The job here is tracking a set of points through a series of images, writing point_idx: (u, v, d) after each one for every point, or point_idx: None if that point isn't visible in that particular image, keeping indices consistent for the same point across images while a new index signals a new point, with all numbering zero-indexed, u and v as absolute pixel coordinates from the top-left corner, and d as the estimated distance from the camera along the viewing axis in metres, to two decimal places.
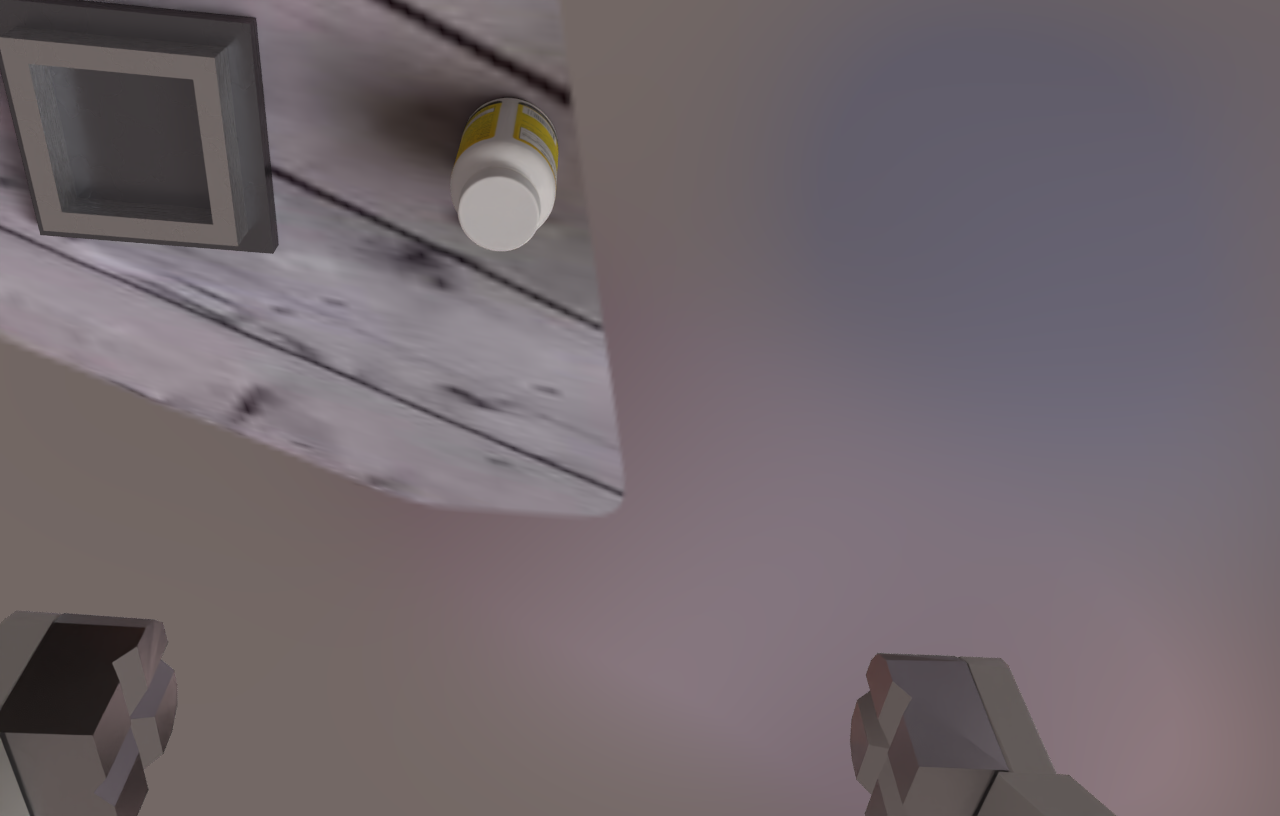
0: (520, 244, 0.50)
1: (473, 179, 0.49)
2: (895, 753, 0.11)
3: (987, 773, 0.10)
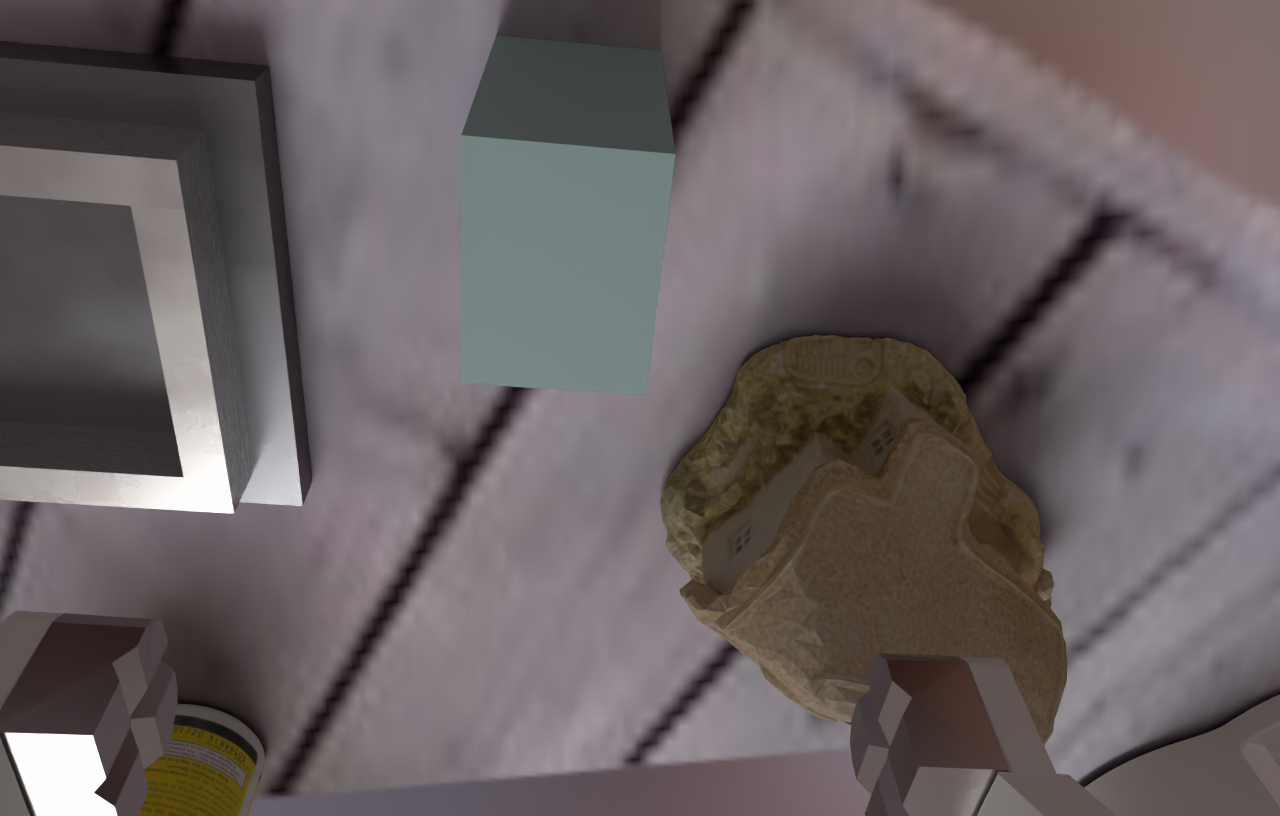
0: None
1: None
2: (896, 754, 0.11)
3: (987, 773, 0.10)
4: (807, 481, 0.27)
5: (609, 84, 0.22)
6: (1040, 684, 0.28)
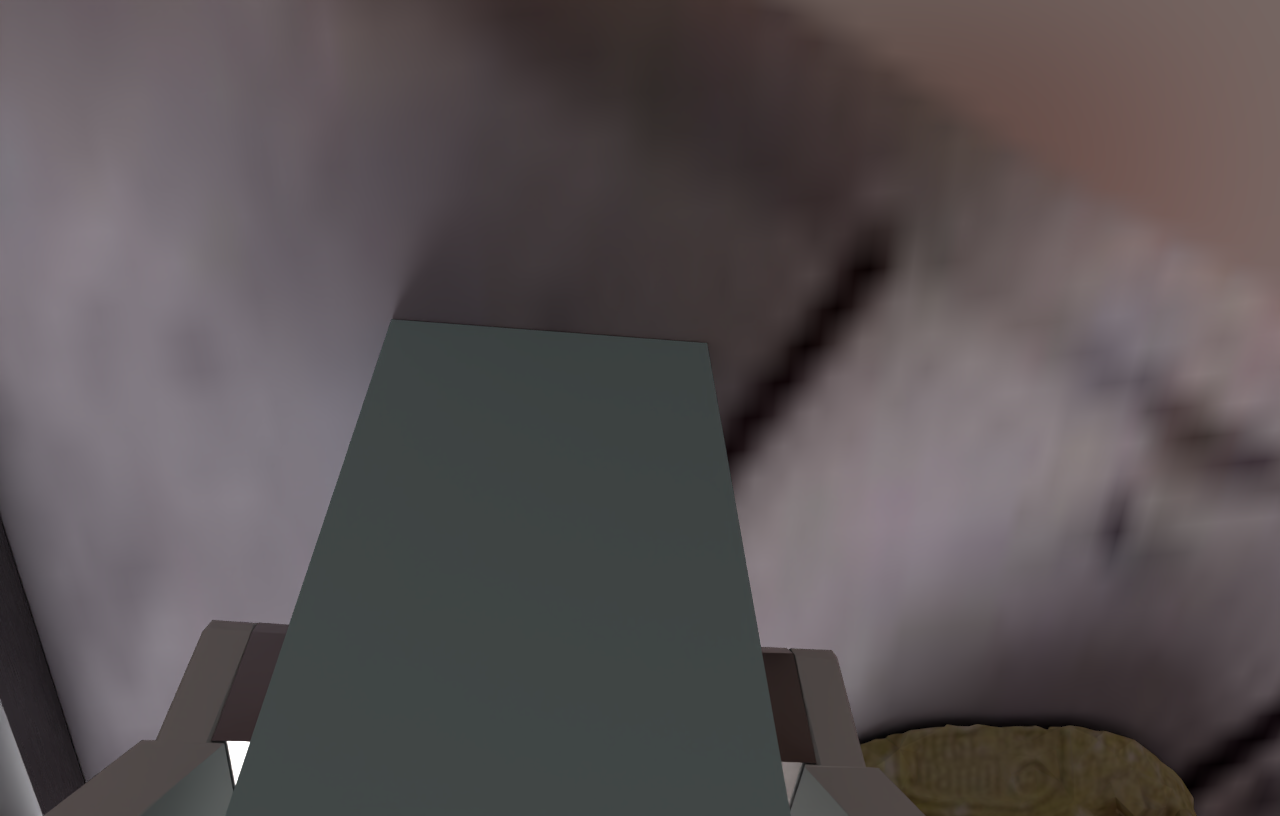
0: None
1: None
2: None
3: (795, 766, 0.10)
4: None
5: (612, 489, 0.10)
6: None
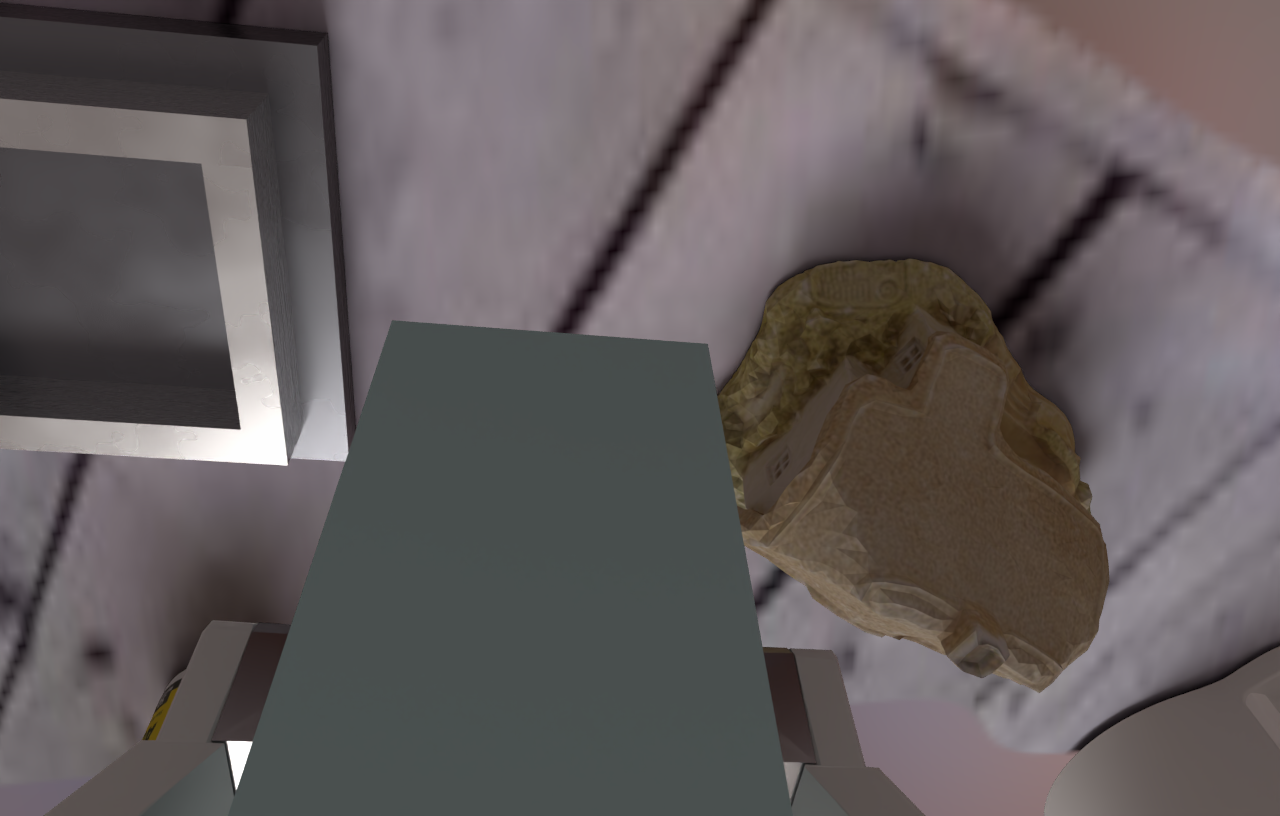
0: None
1: None
2: None
3: (795, 766, 0.10)
4: (840, 397, 0.28)
5: (614, 490, 0.10)
6: (1083, 583, 0.29)
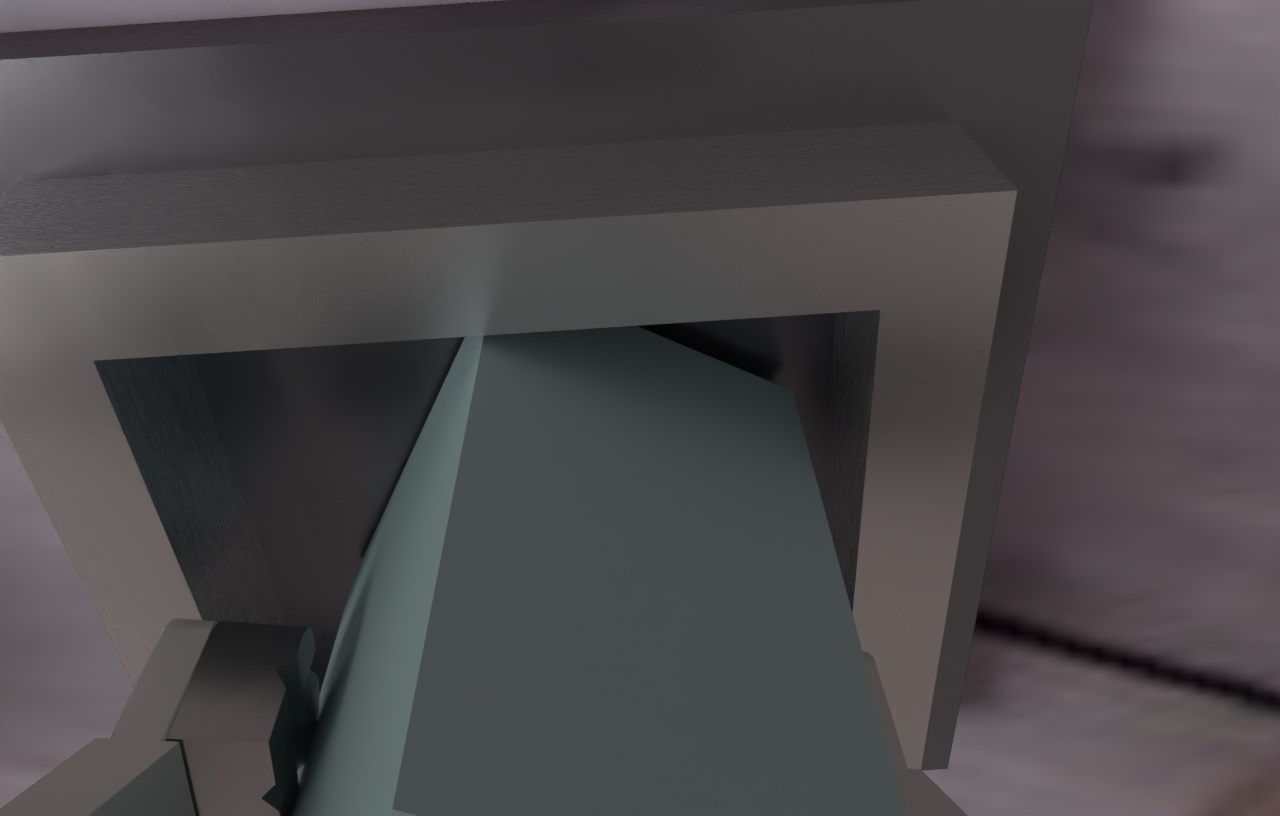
0: None
1: None
2: None
3: None
4: None
5: (730, 521, 0.10)
6: None
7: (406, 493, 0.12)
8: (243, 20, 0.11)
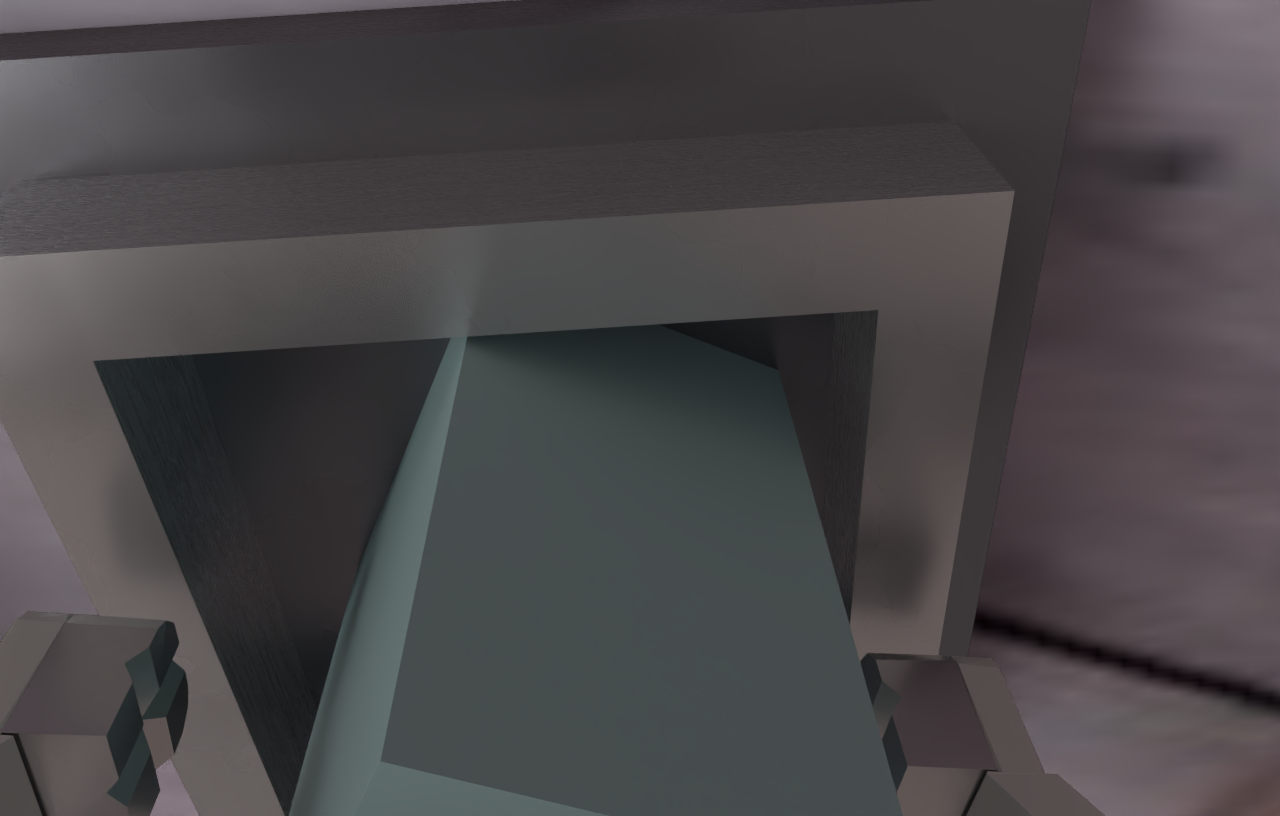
0: None
1: None
2: None
3: (976, 772, 0.10)
4: None
5: (714, 493, 0.10)
6: None
7: (402, 481, 0.12)
8: (242, 21, 0.11)
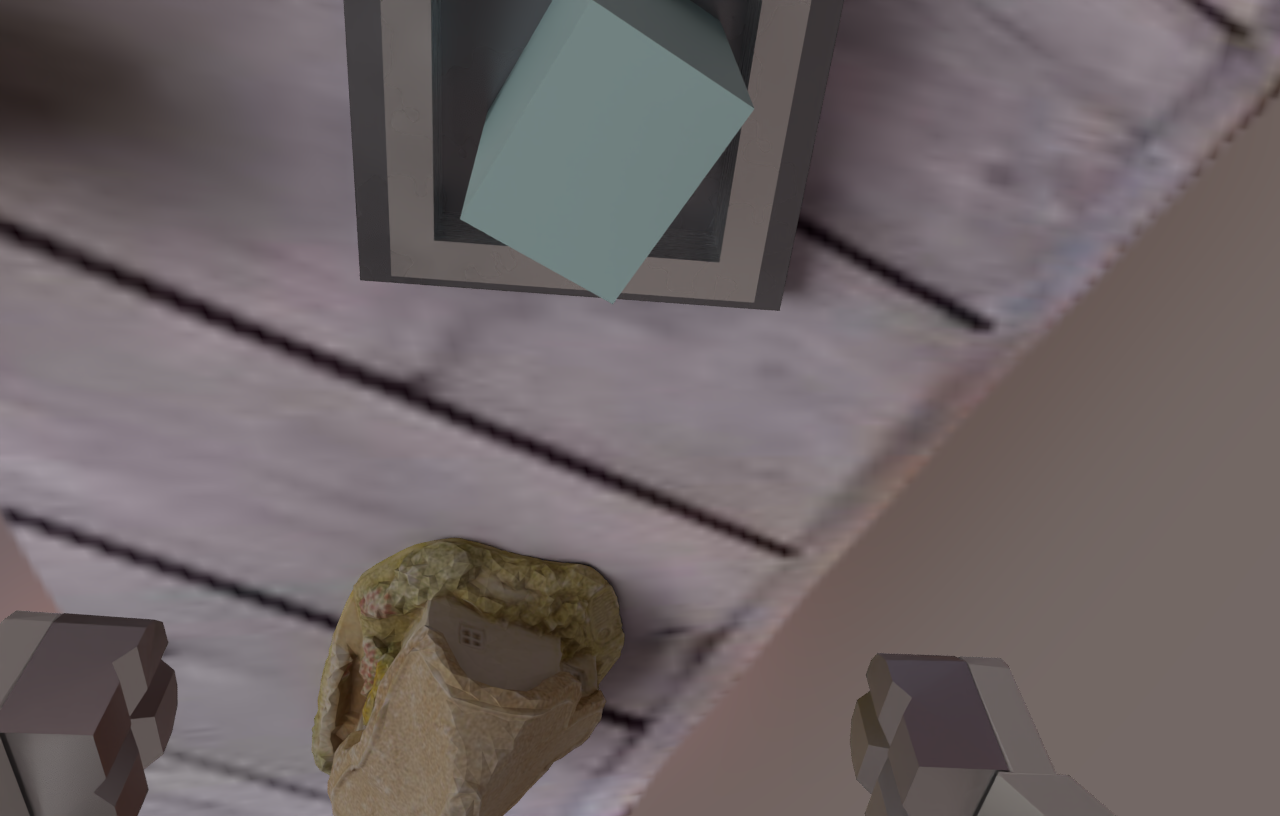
0: None
1: None
2: (896, 754, 0.11)
3: (987, 773, 0.10)
4: (564, 678, 0.37)
5: (690, 25, 0.24)
6: None
7: (539, 32, 0.26)
8: None
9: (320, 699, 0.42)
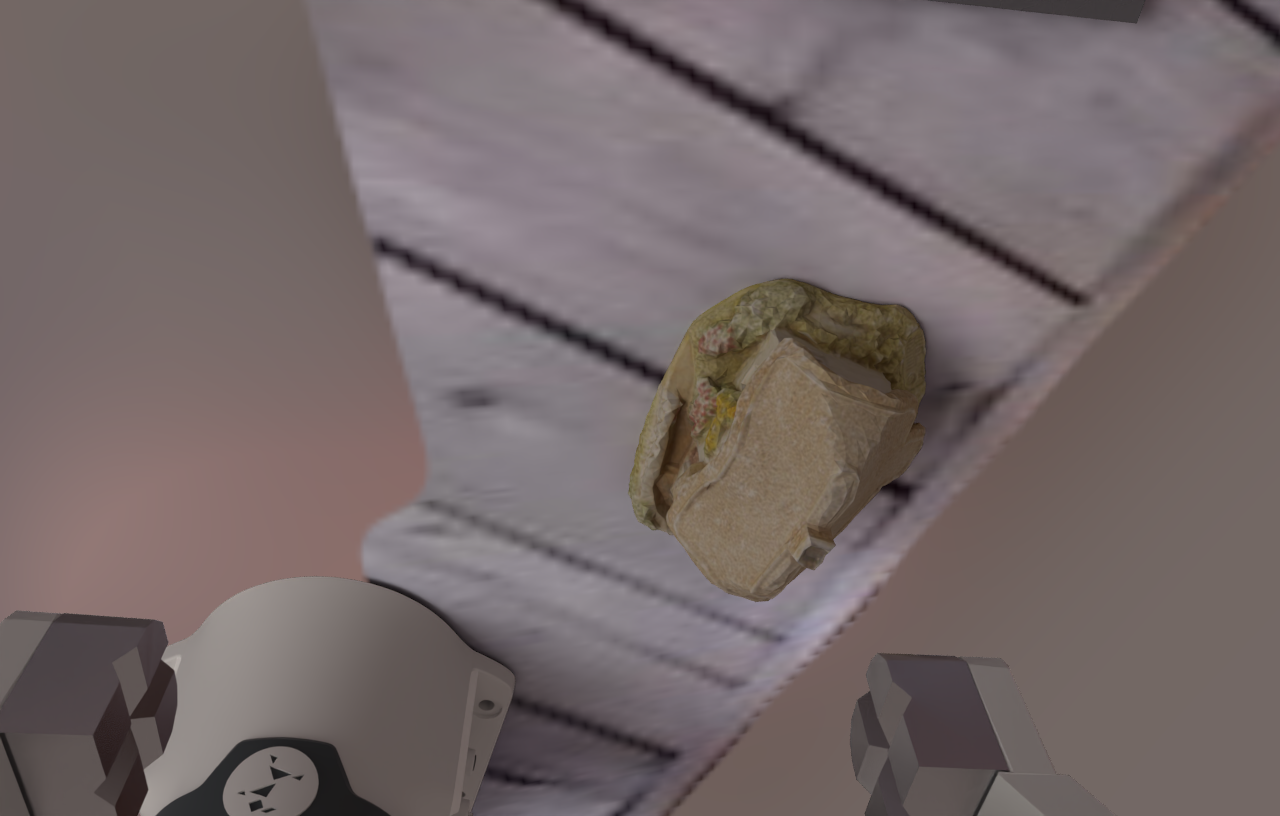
0: None
1: None
2: (896, 752, 0.11)
3: (987, 773, 0.10)
4: (906, 392, 0.40)
5: None
6: (793, 577, 0.42)
7: None
8: None
9: (641, 452, 0.45)
